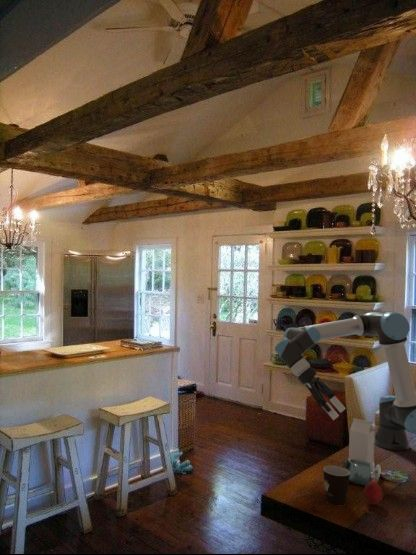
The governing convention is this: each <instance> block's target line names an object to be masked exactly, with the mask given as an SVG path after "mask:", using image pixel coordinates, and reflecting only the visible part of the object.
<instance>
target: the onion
mask: <svg viewBox="0 0 416 555" xmlns="http://www.w3.org/2000/svg"><path fill="white" fill-rule="evenodd" d="M363 495H364V497H365V499H366V500H367V501H368V502H369V503H370V504H371V505H376V504H378V503H380V502H381V501H382V499H383V496H384V492H383V490H382V487H381V486H380V485H379V484H378V483H376V480H372V482H370V483H368V484H367V485H366V486H365V487H364V489H363Z"/></svg>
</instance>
